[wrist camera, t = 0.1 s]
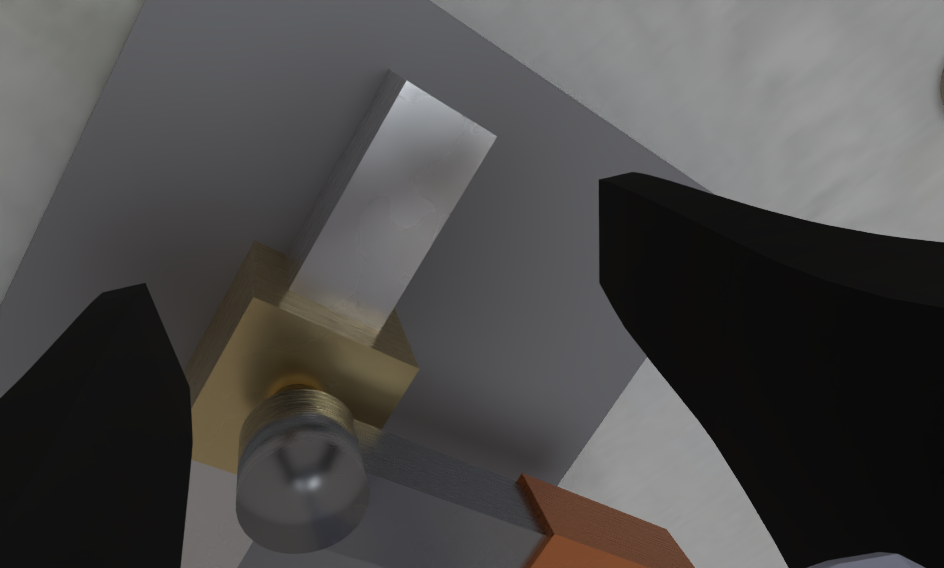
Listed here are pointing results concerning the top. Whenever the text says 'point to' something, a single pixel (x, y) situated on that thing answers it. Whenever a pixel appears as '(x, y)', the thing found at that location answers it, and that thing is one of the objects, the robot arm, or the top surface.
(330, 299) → the ball valve
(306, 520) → the valve lever
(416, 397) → the mounting board
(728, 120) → the top surface
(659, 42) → the top surface
